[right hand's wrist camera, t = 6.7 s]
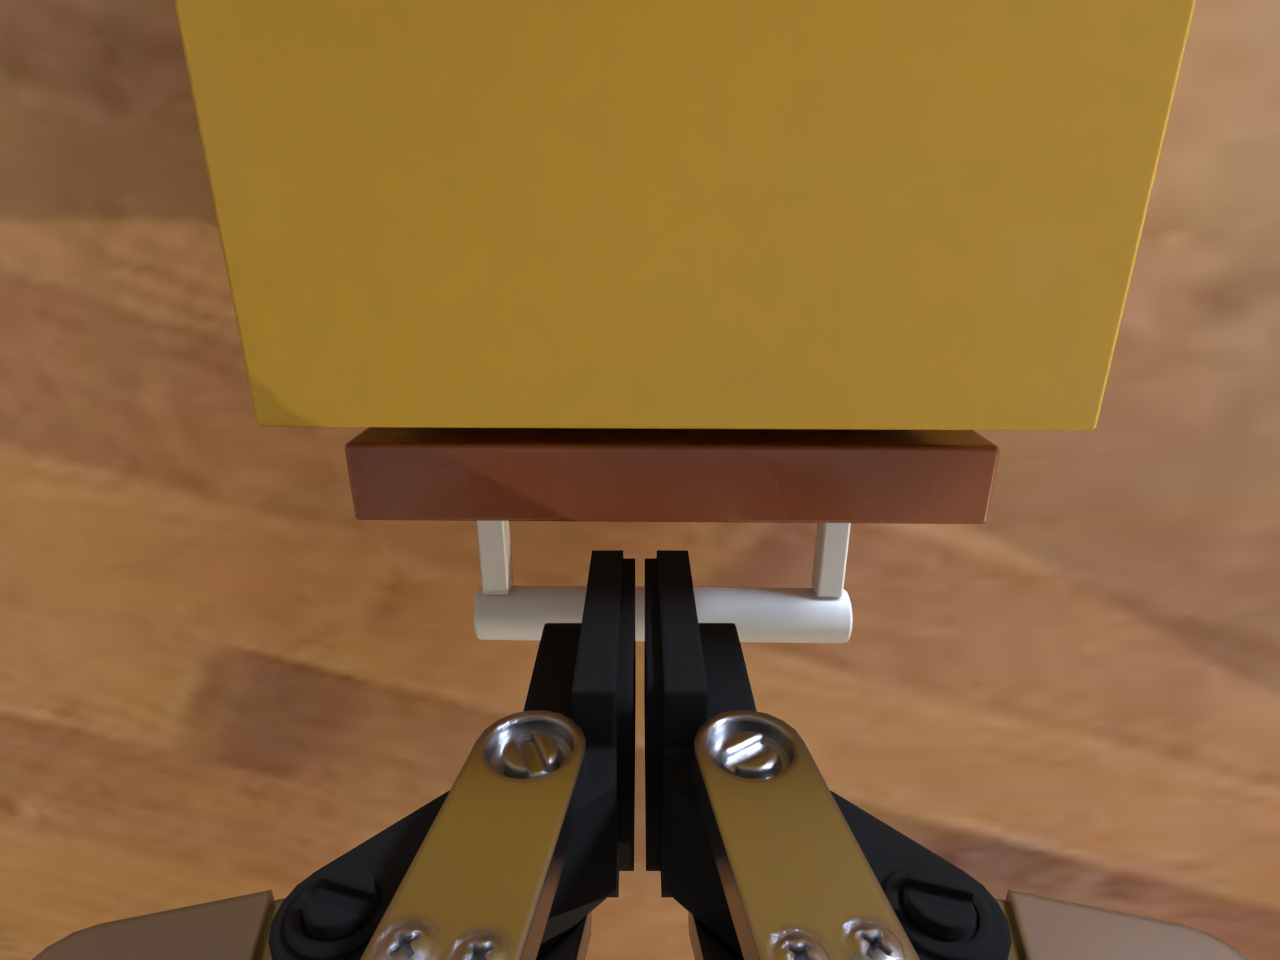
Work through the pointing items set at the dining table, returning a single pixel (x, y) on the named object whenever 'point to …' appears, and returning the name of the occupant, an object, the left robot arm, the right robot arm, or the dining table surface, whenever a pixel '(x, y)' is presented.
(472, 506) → the drawer
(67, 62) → the dining table surface
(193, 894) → the dining table surface
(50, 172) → the dining table surface
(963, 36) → the cabinet
